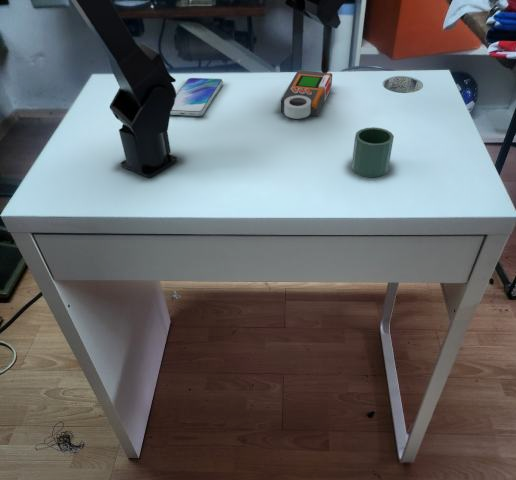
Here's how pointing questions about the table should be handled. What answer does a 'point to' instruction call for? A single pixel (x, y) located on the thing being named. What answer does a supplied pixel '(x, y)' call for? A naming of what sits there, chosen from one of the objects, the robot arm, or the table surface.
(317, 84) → the electronic device
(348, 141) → the table surface
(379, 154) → the pen cup
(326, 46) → the stylus
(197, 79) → the smartphone
